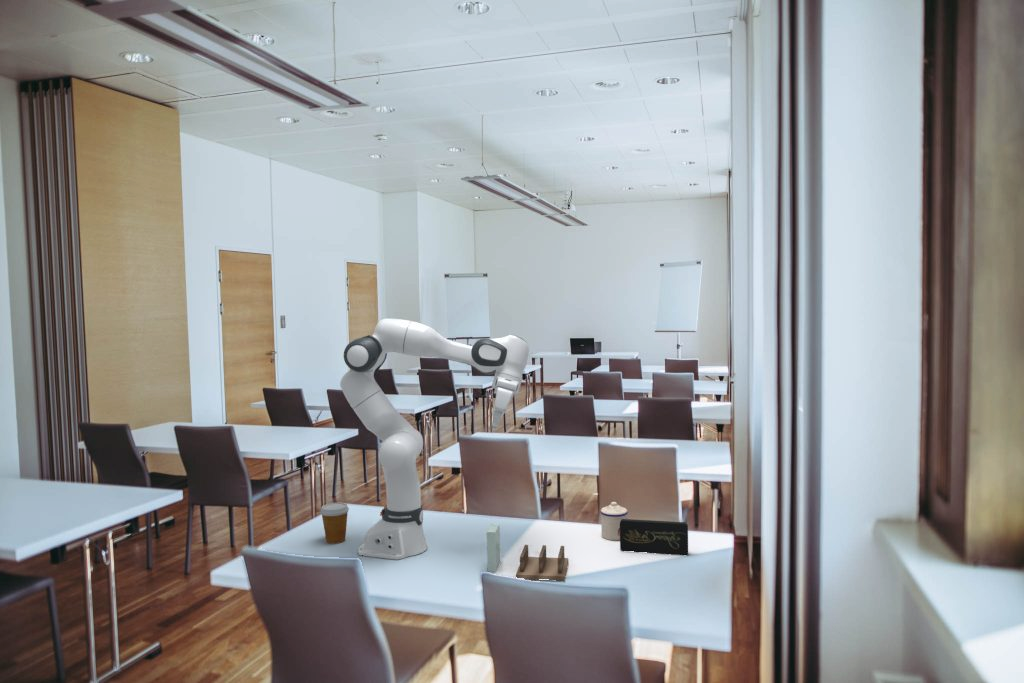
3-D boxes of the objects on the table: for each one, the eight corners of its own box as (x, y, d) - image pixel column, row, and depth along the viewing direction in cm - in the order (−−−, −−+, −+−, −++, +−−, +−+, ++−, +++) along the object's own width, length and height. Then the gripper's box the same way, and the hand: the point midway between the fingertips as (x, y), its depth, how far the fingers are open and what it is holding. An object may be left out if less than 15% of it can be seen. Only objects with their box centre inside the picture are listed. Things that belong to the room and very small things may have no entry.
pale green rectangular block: (487, 571, 200) (486, 532, 199) (492, 562, 207) (491, 524, 206) (496, 572, 200) (495, 532, 199) (500, 563, 206) (499, 524, 206)
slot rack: (515, 579, 194) (515, 559, 193) (523, 561, 207) (522, 542, 207) (564, 581, 191) (563, 560, 191) (568, 563, 205) (568, 543, 205)
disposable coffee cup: (350, 543, 227) (348, 508, 227) (321, 546, 225) (319, 511, 224) (349, 534, 237) (348, 501, 236) (321, 537, 234) (320, 503, 234)
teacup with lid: (622, 542, 221) (621, 507, 221) (596, 538, 226) (596, 504, 225) (634, 531, 232) (634, 498, 231) (610, 527, 236) (609, 495, 236)
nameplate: (688, 553, 210) (687, 522, 210) (688, 556, 208) (687, 524, 208) (620, 549, 216) (620, 518, 215) (620, 551, 214) (619, 520, 213)
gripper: (495, 386, 225) (484, 426, 223) (497, 379, 205) (485, 423, 202) (513, 391, 225) (502, 431, 223) (517, 384, 205) (505, 428, 202)
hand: (494, 427), depth 212 cm, fingers open, 8 cm apart
